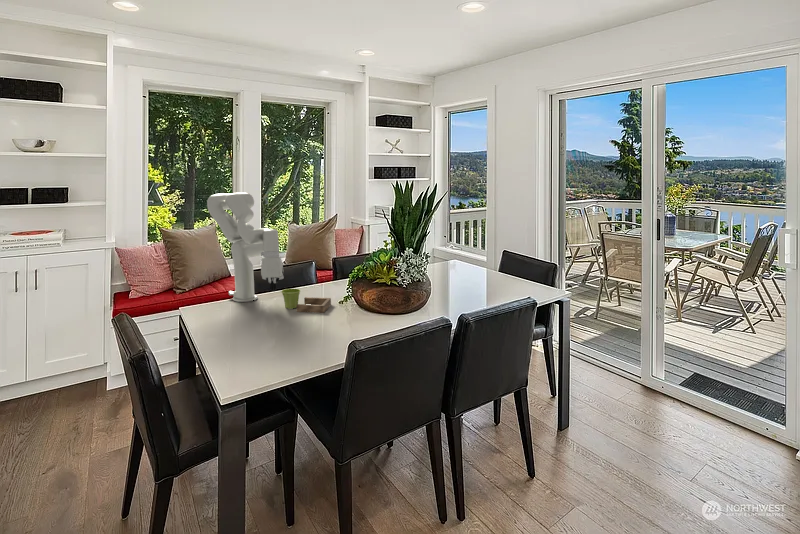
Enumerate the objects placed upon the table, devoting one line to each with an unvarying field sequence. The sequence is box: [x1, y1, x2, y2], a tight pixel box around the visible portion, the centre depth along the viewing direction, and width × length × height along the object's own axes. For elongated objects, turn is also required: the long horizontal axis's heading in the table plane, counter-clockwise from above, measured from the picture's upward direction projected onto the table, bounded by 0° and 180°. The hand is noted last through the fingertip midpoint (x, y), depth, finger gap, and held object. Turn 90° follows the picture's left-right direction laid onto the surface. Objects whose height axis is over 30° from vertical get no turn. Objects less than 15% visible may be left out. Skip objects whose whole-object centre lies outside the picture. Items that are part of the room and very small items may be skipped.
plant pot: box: [281, 288, 301, 310], centre depth 243 cm, size 9×9×9 cm
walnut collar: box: [296, 296, 332, 314], centre depth 242 cm, size 14×15×4 cm
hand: (273, 290), depth 242 cm, fingers closed
